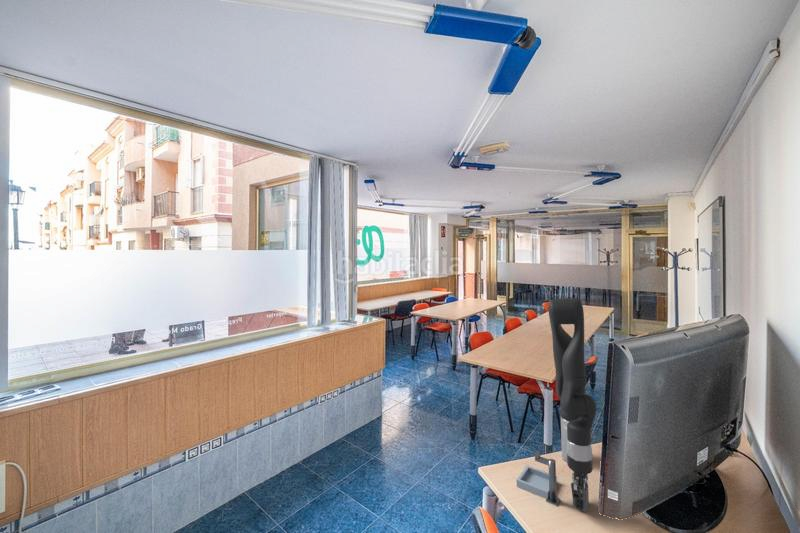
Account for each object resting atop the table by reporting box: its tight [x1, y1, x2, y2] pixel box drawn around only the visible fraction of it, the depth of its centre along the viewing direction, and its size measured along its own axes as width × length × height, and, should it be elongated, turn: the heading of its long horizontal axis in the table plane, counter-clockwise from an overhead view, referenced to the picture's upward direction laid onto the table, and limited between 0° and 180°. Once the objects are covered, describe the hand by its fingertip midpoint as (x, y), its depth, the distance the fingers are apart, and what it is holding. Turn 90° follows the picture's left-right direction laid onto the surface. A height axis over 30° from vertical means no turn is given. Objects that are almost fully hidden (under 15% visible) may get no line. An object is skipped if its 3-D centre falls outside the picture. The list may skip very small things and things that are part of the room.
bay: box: [516, 464, 558, 500], centre depth 123 cm, size 11×11×2 cm
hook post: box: [534, 450, 561, 507], centre depth 115 cm, size 4×7×15 cm, turn 50°
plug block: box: [572, 484, 590, 513], centre depth 111 cm, size 4×4×9 cm
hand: (580, 503), depth 111 cm, fingers closed on plug block, 4 cm apart
